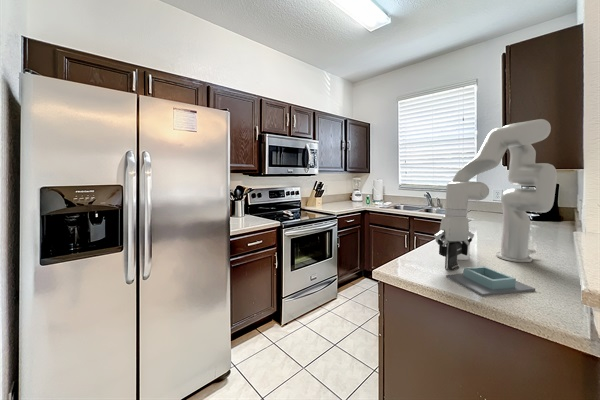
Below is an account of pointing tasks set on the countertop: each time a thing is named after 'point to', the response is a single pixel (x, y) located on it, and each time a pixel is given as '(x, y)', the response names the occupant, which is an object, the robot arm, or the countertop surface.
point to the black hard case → (452, 255)
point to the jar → (464, 257)
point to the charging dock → (488, 282)
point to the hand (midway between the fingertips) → (453, 254)
